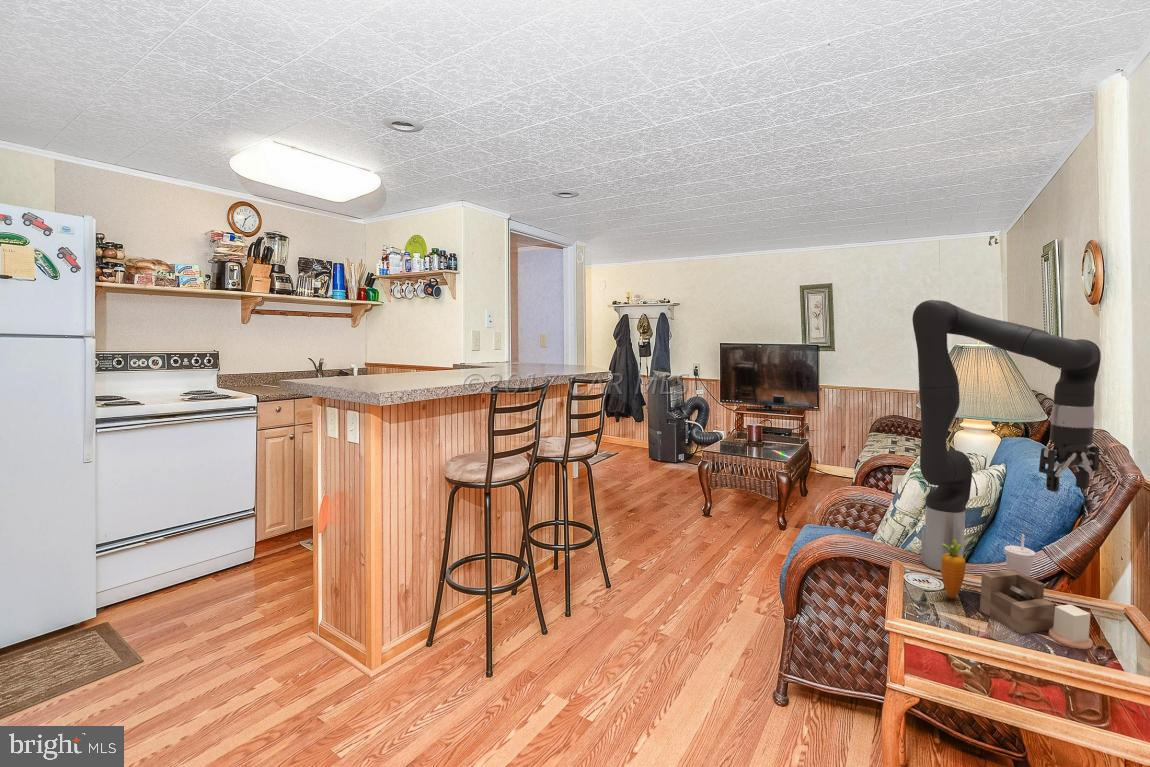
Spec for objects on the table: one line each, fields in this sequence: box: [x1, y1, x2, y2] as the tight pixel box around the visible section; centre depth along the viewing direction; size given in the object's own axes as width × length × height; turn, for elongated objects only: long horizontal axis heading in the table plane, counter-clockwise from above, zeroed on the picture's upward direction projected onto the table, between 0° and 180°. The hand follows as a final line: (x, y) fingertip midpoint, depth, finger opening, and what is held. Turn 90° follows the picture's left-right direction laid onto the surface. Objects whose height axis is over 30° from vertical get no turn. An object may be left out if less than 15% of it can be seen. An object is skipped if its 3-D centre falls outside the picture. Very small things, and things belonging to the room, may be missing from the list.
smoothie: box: [1003, 533, 1037, 578], centre depth 139 cm, size 6×6×14 cm
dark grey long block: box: [1010, 585, 1059, 614], centre depth 125 cm, size 13×4×3 cm
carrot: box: [940, 539, 967, 600], centre depth 134 cm, size 5×5×15 cm
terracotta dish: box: [1048, 626, 1094, 650], centre depth 116 cm, size 7×7×1 cm
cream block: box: [1053, 604, 1091, 643], centre depth 116 cm, size 4×4×6 cm
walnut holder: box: [979, 569, 1056, 635], centre depth 124 cm, size 10×10×10 cm
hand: (1067, 489), depth 129 cm, fingers open, 8 cm apart
